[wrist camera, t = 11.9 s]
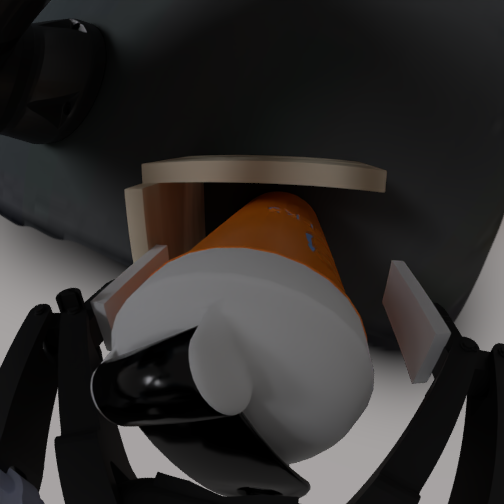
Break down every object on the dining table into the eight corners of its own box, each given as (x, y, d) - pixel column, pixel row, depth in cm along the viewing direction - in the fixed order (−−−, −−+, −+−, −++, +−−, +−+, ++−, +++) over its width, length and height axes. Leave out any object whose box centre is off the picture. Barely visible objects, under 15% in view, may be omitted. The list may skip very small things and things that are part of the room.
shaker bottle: (270, 295, 26) (215, 511, 8) (207, 222, 25) (37, 390, 6) (350, 242, 23) (427, 472, 5) (286, 157, 22) (203, 230, 3)
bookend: (195, 265, 27) (145, 325, 17) (190, 156, 23) (122, 167, 14) (345, 276, 24) (364, 350, 15) (358, 161, 21) (398, 174, 11)
